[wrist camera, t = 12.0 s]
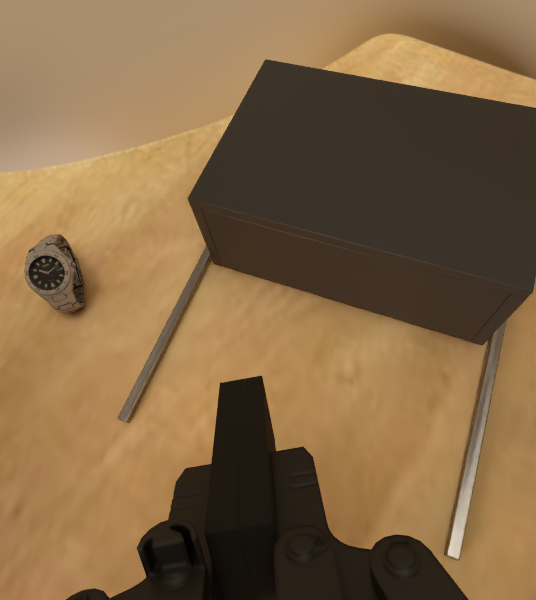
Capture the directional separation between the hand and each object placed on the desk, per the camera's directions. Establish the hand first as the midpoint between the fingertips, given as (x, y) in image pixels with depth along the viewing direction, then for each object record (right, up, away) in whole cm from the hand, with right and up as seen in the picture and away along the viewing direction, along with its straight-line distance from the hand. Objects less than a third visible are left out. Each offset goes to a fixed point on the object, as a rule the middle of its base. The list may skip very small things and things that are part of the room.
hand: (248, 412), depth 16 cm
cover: (+8, +9, +20) cm, 23 cm away
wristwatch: (-15, +5, +20) cm, 25 cm away
